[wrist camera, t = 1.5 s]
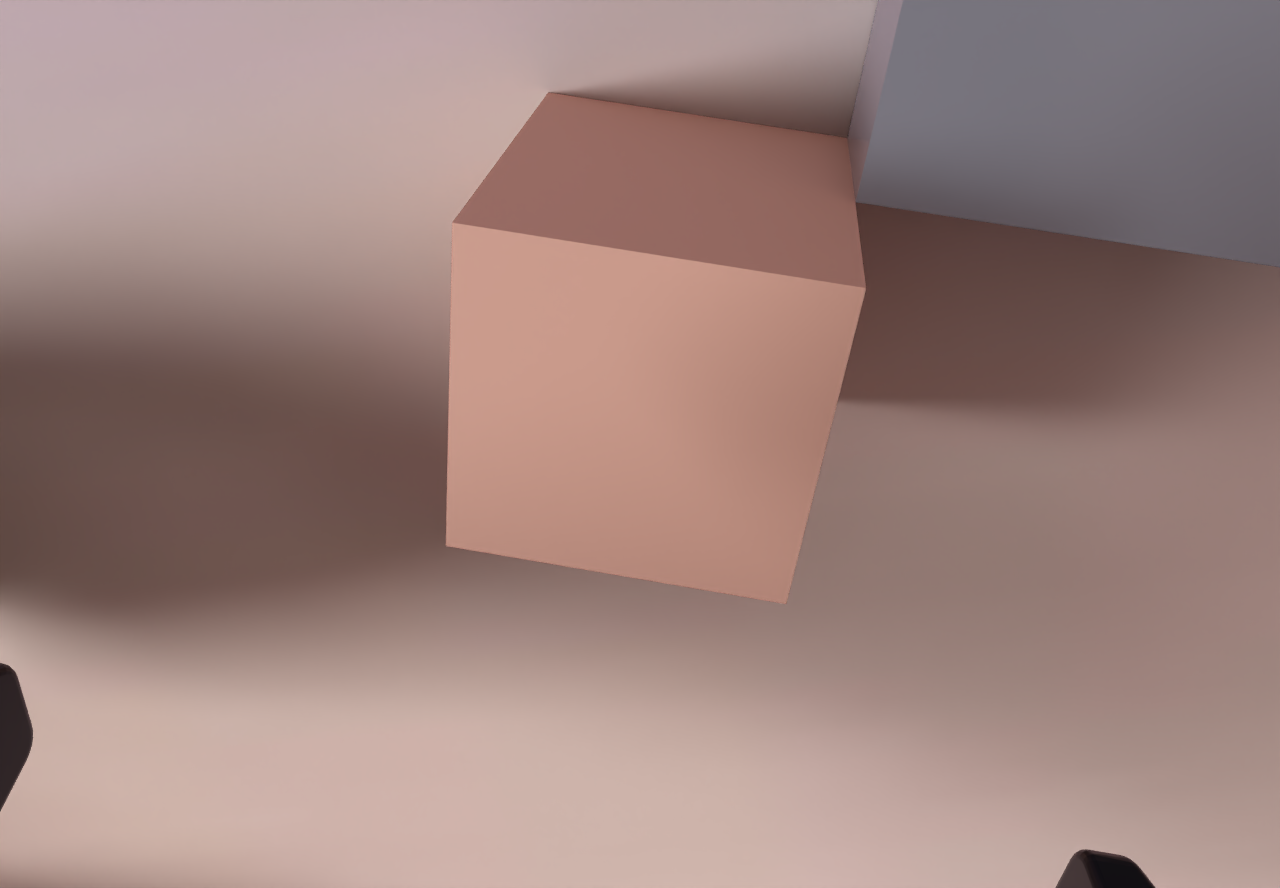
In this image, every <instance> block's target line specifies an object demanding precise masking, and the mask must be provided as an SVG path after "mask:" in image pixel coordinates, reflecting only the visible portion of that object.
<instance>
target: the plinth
mask: <svg viewBox="0 0 1280 888" xmlns="http://www.w3.org/2000/svg"><path fill="white" fill-rule="evenodd" d="M847 141H848V148H849V156H850V163H851V171H852V178H853V186H854V193H855V201H856V202H858V203H865V204H871V205H878V206H884V207H891V208H897V209H904V210H910V211H917V212H923V213H930V214H936V215H943V216H949V217H956V218H962V219H969V220H975V221H982V222H988V223H995V224H1001V225H1008V226H1014V227H1021V228H1028V229H1034V230H1041V231H1047V232H1054V233H1060V234H1067V235H1073V236H1080V237H1086V238H1093V239H1099V240H1106V241H1112V242H1119V243H1125V244H1132V245H1138V246H1145V247H1151V248H1158V249H1164V250H1171V251H1177V252H1184V253H1190V254H1197V255H1203V256H1210V257H1216V258H1223V259H1229V260H1236V261H1242V262H1249V263H1255V264H1262V265H1268V266H1275V267H1280V0H878V3H877V7H876V12H875V16H874V21H873V25H872V30H871V34H870V38H869V43H868V47H867V52H866V56H865V61H864V65H863V70H862V74H861V79H860V83H859V88H858V92H857V97H856V101H855V106H854V110H853V115H852V119H851V124H850V128H849V133H848V137H847Z"/></svg>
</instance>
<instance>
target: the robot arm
mask: <svg viewBox="0 0 1280 888" xmlns="http://www.w3.org/2000/svg"><path fill="white" fill-rule="evenodd" d="M32 741H33V728H32V724H31V720H30V717H29V714H28V710H27V707H26V704H25V700H24V697H23V694H22V690H21V687H20V683H19V680H18V677H17V675H16V672H15V671H14V670H13V669H12V668H11V667H10V666H8V665H6V664H2V663H0V811H1V809H2V807H3V805H4V803H5V801H6V799H7V797H8V796H9V794H10V792H11V790H12V788H13V786H14V784H15V782H16V780H17V778H18V776H19V774H20V772H21V770H22V768H23V766H24V764H25V762H26V760H27V758H28V756H29V753H30V750H31V746H32ZM1056 888H1155V886H1154V885H1153V884H1152V883H1151V881H1150V880H1149V879H1148V878H1147V876H1146V875H1145V874H1144V872H1143V871H1142V870H1141V869H1140V868H1139V866H1138V865H1137V864H1136V863H1134V862H1133V861H1132V860H1131V859H1129V858H1127V857H1124V856H1121V855H1116V854H1111V853H1105V852H1099V851H1093V850H1080V851H1078V852H1077V853H1075V854H1074V855H1073V857H1072V858H1071V859H1070V861H1069V863H1068V865H1067V867H1066V869H1065V871H1064V873H1063V875H1062V877H1061V878H1060V880H1059V882H1058V884H1057V886H1056Z"/></svg>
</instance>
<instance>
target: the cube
mask: <svg viewBox="0 0 1280 888" xmlns="http://www.w3.org/2000/svg"><path fill="white" fill-rule="evenodd" d="M865 291H866V282H865V275H864V267H863V259H862V251H861V243H860V235H859V227H858V219H857V211H856V204H855V196H854V188H853V180H852V172H851V164H850V156H849V148H848V141H847V138H845V137H838V136H831V135H825V134H818V133H812V132H805V131H799V130H792V129H785V128H779V127H772V126H766V125H759V124H753V123H746V122H739V121H733V120H726V119H720V118H713V117H707V116H700V115H694V114H687V113H680V112H674V111H667V110H661V109H654V108H648V107H641V106H634V105H628V104H621V103H615V102H608V101H602V100H595V99H588V98H582V97H575V96H569V95H562V94H556V93H549V92H548V94H547V95H546V96H545V98H544V99H543V100H542V102H541V103H540V105H539V106H538V107H537V109H536V110H535V111H534V113H533V114H532V115H531V117H530V118H529V119H528V121H527V122H526V124H525V125H524V126H523V128H522V129H521V130H520V132H519V133H518V134H517V136H516V137H515V138H514V140H513V141H512V142H511V144H510V145H509V147H508V148H507V149H506V151H505V152H504V153H503V155H502V156H501V157H500V159H499V160H498V161H497V163H496V164H495V166H494V167H493V168H492V170H491V171H490V172H489V174H488V175H487V176H486V178H485V179H484V180H483V182H482V183H481V184H480V186H479V187H478V189H477V190H476V191H475V193H474V194H473V195H472V197H471V198H470V199H469V201H468V202H467V203H466V205H465V206H464V207H463V209H462V210H461V212H460V213H459V214H458V216H457V217H456V218H455V220H454V221H453V222H452V262H451V311H450V361H449V410H448V459H447V509H446V546H449V547H455V548H461V549H467V550H473V551H478V552H484V553H490V554H496V555H502V556H508V557H514V558H519V559H525V560H531V561H537V562H543V563H549V564H555V565H560V566H566V567H572V568H578V569H584V570H590V571H596V572H601V573H607V574H613V575H619V576H625V577H631V578H636V579H642V580H648V581H654V582H660V583H666V584H672V585H677V586H683V587H689V588H695V589H701V590H707V591H713V592H718V593H724V594H730V595H736V596H742V597H748V598H754V599H759V600H765V601H771V602H777V603H783V604H786V603H787V599H788V595H789V591H790V587H791V583H792V579H793V575H794V571H795V567H796V563H797V559H798V556H799V552H800V548H801V544H802V540H803V536H804V532H805V528H806V524H807V520H808V516H809V512H810V508H811V504H812V500H813V496H814V492H815V488H816V484H817V481H818V477H819V473H820V469H821V465H822V461H823V457H824V453H825V449H826V445H827V441H828V437H829V433H830V429H831V425H832V421H833V417H834V413H835V410H836V406H837V402H838V398H839V394H840V390H841V386H842V382H843V378H844V374H845V370H846V366H847V362H848V358H849V354H850V350H851V346H852V342H853V339H854V335H855V331H856V327H857V323H858V319H859V315H860V311H861V307H862V303H863V299H864V295H865Z"/></svg>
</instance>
